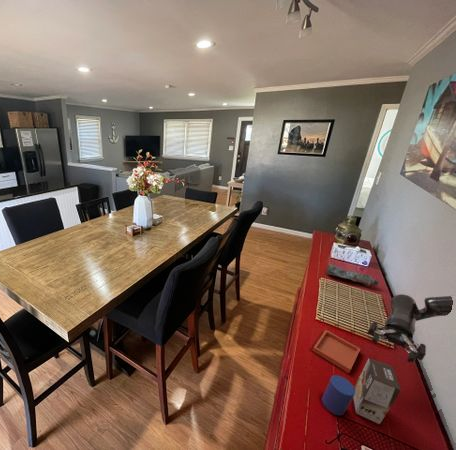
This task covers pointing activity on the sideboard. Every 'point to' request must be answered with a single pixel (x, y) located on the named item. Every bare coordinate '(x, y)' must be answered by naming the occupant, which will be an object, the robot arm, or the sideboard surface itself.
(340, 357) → the tray
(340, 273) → the dark stone rod
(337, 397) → the blue tin
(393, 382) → the coffee box
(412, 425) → the sideboard surface
